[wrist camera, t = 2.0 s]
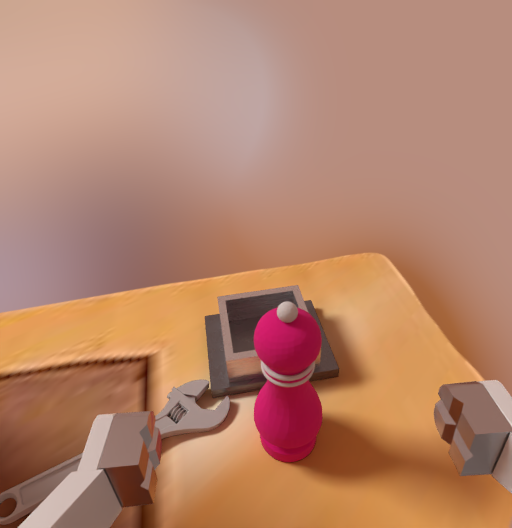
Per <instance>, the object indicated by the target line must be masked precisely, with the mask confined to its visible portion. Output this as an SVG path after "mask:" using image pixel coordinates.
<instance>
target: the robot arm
mask: <svg viewBox="0 0 512 528" xmlns="http://www.w3.org/2000/svg"><path fill="white" fill-rule="evenodd" d="M438 394H439V396H440V398H441V400H440V401H438V402H437V403H436V404H435V409H434V419H435V424H436V427H437V430H438V432H439V434H440V436H441V438H442V439H443V440H445V441H446V442H447V443H449V444H450V449H449V455H450V457H451V459H452V461H453V463H454V465H455V467H456V468H457V470H458V472H459V474H460V476H467V475H484V474H492V476H493V477H494V478H495V479H496V480H497V481H498V482H499V483H500V484H502V485H503V486H504V487H505V488H506V489H507V490H508V491H509V492H511V493H512V398H511V396H510V394H509V393H508V392H507V390H506V389H505V388H504V386H503V385H502V383H500V382H499V381H497V380H489V381H479V382H476V381H474V382H464V383H455V384H445V385H442V386H441V387H440V389H439V392H438ZM155 421H156V418H155V415H154V412H153V411H148V412H132V413H115V414H103V415H98V416H97V417H96V419H95V420H94V422H93V425H92V428H91V431H90V434H89V437H88V440H87V443H86V446H85V449H84V452H83V455H82V458H81V461H80V464H79V467H78V470H77V471H75V472H71V473H70V474H69V475H68V476H67V477H66V478H65V479H64V480H63V481H62V482H61V483H60V484H59V485H58V486H57V487H56V488H55V489H54V490H53V492H52V493H51V494H50V495H49V496H48V497H47V498H46V499H45V500H44V501H43V502H42V503H41V504H40V505H39V506H38V507H37V508H36V509H35V510H34V511H33V512H32V513H31V514H30V515H29V516H28V517H27V518H26V519H25V520H24V521H23V522H22V524H21V525H20V526H19V527H18V528H110V527H111V525H112V524H113V522H114V521H115V519H116V518H117V516H118V515H119V514H120V512H121V511H122V507H130V506H138V505H147V504H154V498H155V492H156V485H157V476H156V473H155V469H156V467H157V466H158V465H159V464H160V460H161V451H162V441H161V434H160V430H159V428H157V427H156V426H155Z"/></svg>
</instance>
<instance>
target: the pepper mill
mask: <svg viewBox="0 0 512 528" xmlns="http://www.w3.org/2000/svg"><path fill="white" fill-rule="evenodd" d="M321 343H322V337H321V331H320V328H319V325H318V324H317V322H316V320H315V319H314V318H313V317H312V316H311V314H309V313H308V312H306V311H305V310H303V309H300V308H297V307H296V305H295V304H294V303H292V302H289V301H286V302H283V303H281V304H280V305H279V306H278V307H277V308H275V309H272V310H270V311H268V312H267V313H266V314H265V315H263V316H262V317H261V319H260V320H259V322H258V324H257V326H256V328H255V332H254V347H255V351H256V353H257V355H258V357H259V358H260V360H261V369H262V372H263V374H264V376H265V377H266V378H267V382H266V383H265V385H264V386H263V387H262V388H261V390H260V392H259V394H258V396H257V399H256V402H255V407H254V421H255V424H256V427H257V429H258V431H259V433H260V438H261V442H262V445H263V447H264V449H265V450H266V452H267V453H268V454H269V455H271V456H272V457H273V458H275V459H277V460H280V461H283V462H295V461H299V460H301V459H303V458H305V457H306V456H308V455H309V454H310V452H311V451H312V450H313V448H314V446H315V442H316V435H317V434H318V432H319V430H320V427H321V424H322V406H321V402H320V399H319V397H318V394H317V392H316V391H315V389H314V388H313V386H312V385H311V383H310V382H309V379H310V377H311V376H312V374H313V372H314V368H315V360H316V358H317V356H318V355H319V352H320V349H321Z"/></svg>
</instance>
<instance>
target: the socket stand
mask: <svg viewBox="0 0 512 528" xmlns="http://www.w3.org/2000/svg"><path fill="white" fill-rule="evenodd" d="M286 301H289V302H292V303H294V304H295V305H296V307H297V308H300V309H303V310H305V311H306V312H308V313H309V314H311V316H312V317H313V318H314V319H315V320H316V322H317V324H318V325H319V328H320V331H321V337H322V343H321V349H320V352H319V355H318V356H317V358H316V360H315V368H314V372H313V374H312V376H311V377H310V379H309V381H314V380H320V379H326V378H332V377H338V373H339V368H338V365H337V363H336V360H335V358H334V355H333V353H332V351H331V348H330V346H329V343H328V341H327V338H326V336H325V333H324V331H323V329H322V326H321V324H320V321H319V319H318V316H317V314H316V311H315V309H314V306H313V304H312V302H311V300H309V301H304V300H303V297H302V295H301V292H300V289H299V287H298V285H295V286H288V287H281V288H275V289H268V290H261V291H254V292H247V293H241V294H234V295H227V296H220V297H218V304H219V312H220V314H216V315H209V316H205V325H206V336H207V347H208V359H209V370H210V382H211V392H212V397H213V398H215V397H221V396H227V395H233V394H239V393H244V392H250V391H256V390H261V388H262V387H263V386H264V385H265V383H266V382H267V378H266V377H265V376H264V374H263V372H262V369H261V360H260V358H259V357H258V355H257V353H256V351H255V347H254V332H255V328H256V326H257V324H258V322H259V320H260V319H261V317H262V316H263V315H265V314H266V313H267V312H268V311H270V310H272V309H275V308H277V307H278V306H279V305H280V304H281V303H283V302H286Z"/></svg>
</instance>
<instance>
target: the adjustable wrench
mask: <svg viewBox="0 0 512 528" xmlns="http://www.w3.org/2000/svg"><path fill="white" fill-rule="evenodd" d="M208 388H209V382H208V381H207V380H195V381H191V382H188V383H186V384H184V385H182V386H180V387H178V388H177V389H176V388H175V387H173V388H172V392H170V393H169V394H168V396H167V398H169V401H168V403H167V404H166V406H165V407H164V409H163V410H162V411H161V412H160V413H159V414H158V415H156V416H155V418H156V421H155V426H156V427H157V428H159V430H160V434H161V439H163V438H166V437H170V436H174V435H180V434H185V433H193V432H205V431H209V430H212V429H214V428H216V427H218V426H219V425H220V424H221V423H222V422H223V421H224V420H225V418H226V417H227V414H228V411H229V407H230V399H229V397H228V396H226V397H225V398H224V400H223V401H222V402H221V403H220V405H219V406H218V407H217V408H216V409H215V410H208V409H202V408H200V407H199V406H198V405H197V404H196V402H195V401H197V400H198V399H199V398H200V397H201V396H202V395H203V393H204V392H205V391H206V390H207V389H208ZM184 412H185V413H184ZM169 417H170V418H171V419H173V421H172V420H171V419H170V418H169ZM82 455H83V453H81V454H79V455H77V456H75V457H73V458H71V459H69V460H67V461H65V462H63V463H61V464H59V465H57V466H55V467H53V468H51V469H49V470H47V471H45V472H43V473H41V474H39V475H37V476H35V477H33V478H31V479H29V480H27V481H25V482H23V483H21V484H19V485H17V486H14V487H12V488H10V489H8V490H6V491H4V492H2V493H1V494H0V504H1V503H2V502H3V501H4V500H6V499H7V498H13V499H15V500H16V502H17V506H16V509H15V510H14V512H13V513H12V514H11V515H9V516H8V517H0V524H2V525H7V524H10V523H12V522H14V521H16V520H18V519H20V518H21V517H23V516H25V515H27V514H28V513H30V512H32V511H34V510H35V509H36V508H37V507H38V506H39V505H40V504H41V503H42V502H43V501H44V500H45V499H46V498H47V497H48V496H49V495H50V494H51V493H52V492H53V490H54V489H55V488H56V487H57V486H58V485H59V484H60V483H61V482H62V481H63V480H64V479H65V478H66V477H67V476H68V475H69V474H70V473H71V472H75V471H77V470H78V467H79V464H80V461H81V458H82Z"/></svg>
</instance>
